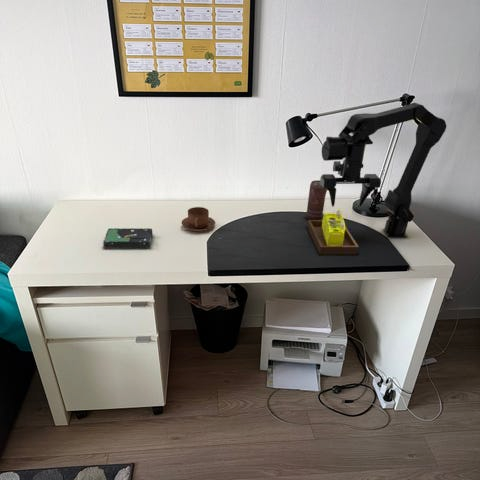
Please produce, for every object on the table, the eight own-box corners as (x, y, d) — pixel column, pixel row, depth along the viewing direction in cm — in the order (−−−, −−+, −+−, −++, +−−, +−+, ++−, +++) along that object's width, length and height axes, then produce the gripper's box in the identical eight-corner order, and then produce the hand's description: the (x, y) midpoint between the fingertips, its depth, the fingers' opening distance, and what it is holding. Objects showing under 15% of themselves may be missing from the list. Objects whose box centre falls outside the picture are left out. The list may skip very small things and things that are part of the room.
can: (322, 222, 164) (327, 186, 156) (305, 221, 165) (310, 184, 157) (322, 216, 169) (328, 180, 161) (306, 214, 170) (311, 179, 162)
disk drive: (152, 235, 151) (108, 235, 150) (152, 228, 149) (107, 227, 148) (150, 249, 143) (103, 249, 141) (149, 241, 141) (102, 241, 140)
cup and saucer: (218, 232, 154) (218, 216, 151) (185, 235, 151) (184, 219, 148) (211, 219, 164) (210, 203, 160) (179, 222, 161) (178, 205, 157)
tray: (340, 227, 162) (341, 220, 160) (357, 254, 144) (358, 246, 143) (307, 227, 161) (307, 220, 159) (319, 254, 143) (320, 246, 142)
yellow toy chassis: (343, 249, 146) (347, 225, 141) (325, 248, 146) (329, 225, 141) (336, 229, 158) (340, 207, 154) (320, 228, 159) (323, 206, 154)
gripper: (374, 151, 145) (365, 197, 154) (319, 151, 144) (313, 197, 153) (386, 161, 136) (376, 209, 146) (327, 161, 135) (320, 210, 144)
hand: (346, 206), depth 147 cm, fingers open, 9 cm apart
